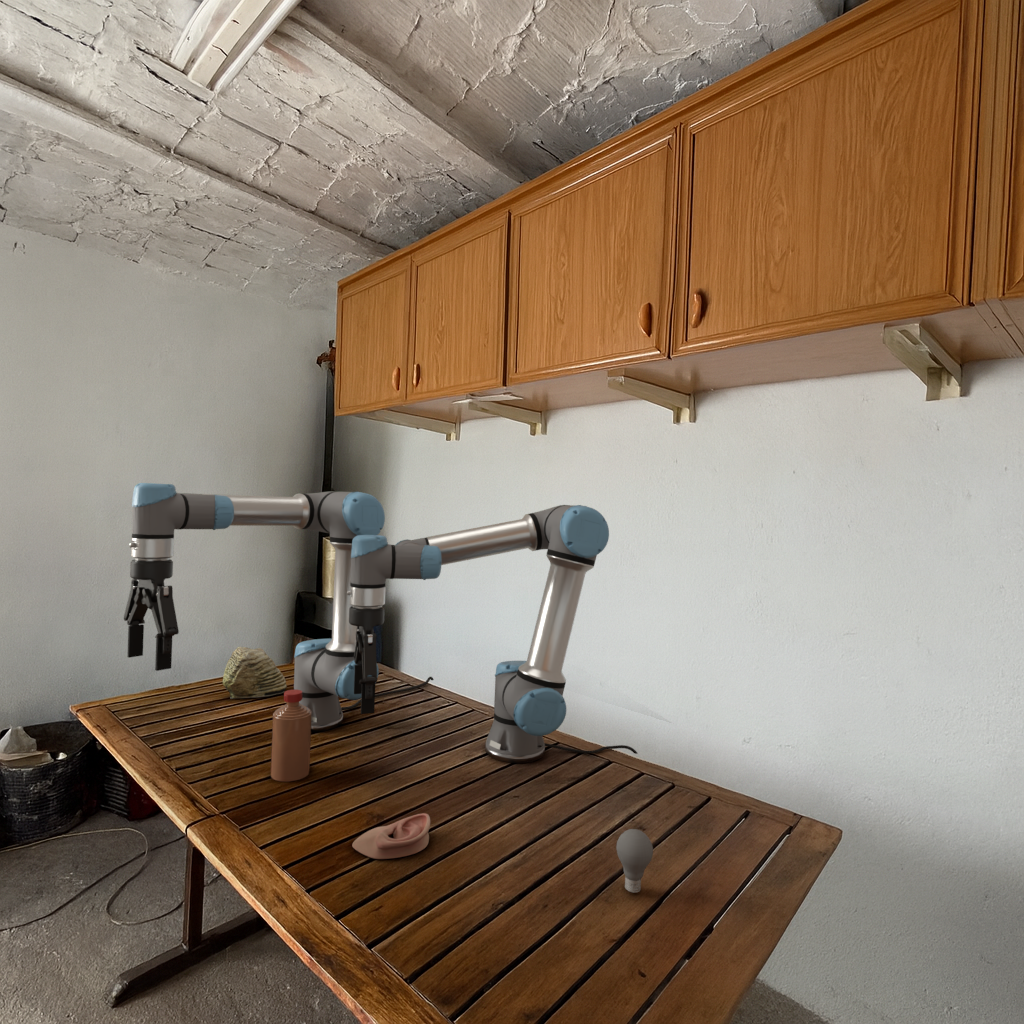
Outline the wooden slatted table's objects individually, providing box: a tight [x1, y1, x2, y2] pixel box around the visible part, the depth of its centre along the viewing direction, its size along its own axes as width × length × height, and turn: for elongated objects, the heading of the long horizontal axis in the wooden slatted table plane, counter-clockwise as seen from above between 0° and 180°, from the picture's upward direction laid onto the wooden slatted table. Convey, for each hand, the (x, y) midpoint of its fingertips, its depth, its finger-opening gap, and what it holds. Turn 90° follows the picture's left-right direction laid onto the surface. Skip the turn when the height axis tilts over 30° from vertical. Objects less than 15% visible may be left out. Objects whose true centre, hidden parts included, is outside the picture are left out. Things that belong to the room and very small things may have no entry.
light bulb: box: [615, 828, 654, 894], centre depth 106 cm, size 6×6×10 cm
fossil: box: [222, 646, 288, 699], centre depth 198 cm, size 9×18×15 cm, turn 132°
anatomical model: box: [351, 812, 431, 860], centre depth 117 cm, size 13×4×12 cm
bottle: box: [270, 702, 312, 782], centre depth 144 cm, size 8×8×18 cm
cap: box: [283, 689, 302, 703], centre depth 144 cm, size 4×4×2 cm
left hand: (148, 662), depth 129 cm, fingers open, 13 cm apart
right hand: (363, 702), depth 138 cm, fingers open, 13 cm apart
